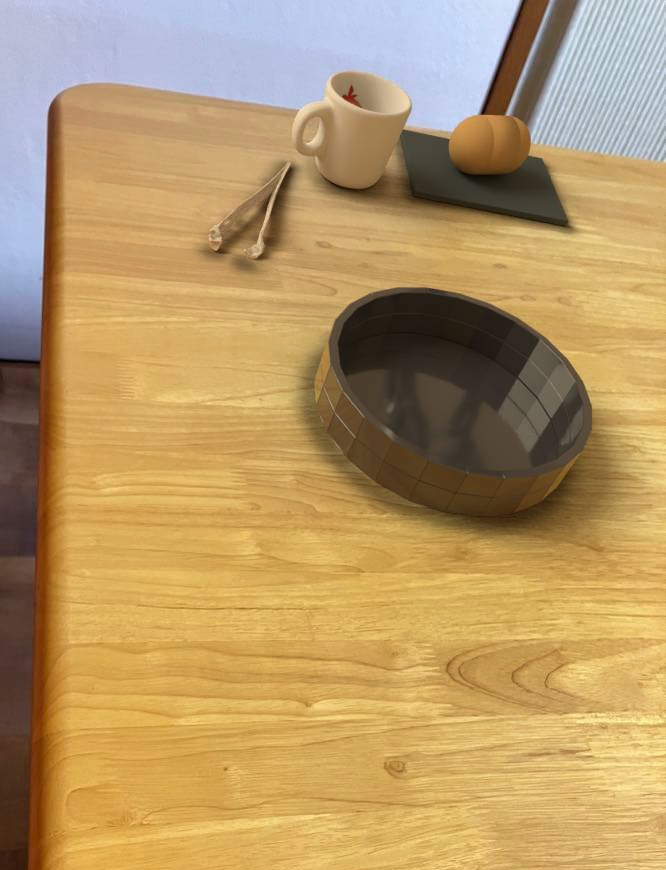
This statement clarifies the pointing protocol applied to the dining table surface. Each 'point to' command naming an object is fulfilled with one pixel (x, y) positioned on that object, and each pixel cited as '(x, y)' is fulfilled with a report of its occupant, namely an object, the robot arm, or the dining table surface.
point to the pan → (451, 401)
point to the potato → (489, 144)
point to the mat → (480, 182)
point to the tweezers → (243, 208)
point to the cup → (354, 127)
